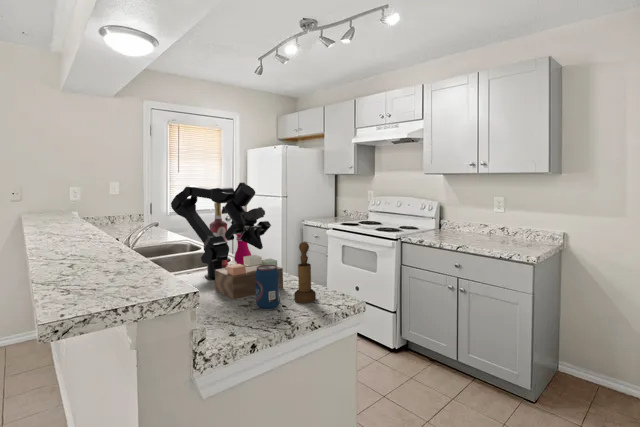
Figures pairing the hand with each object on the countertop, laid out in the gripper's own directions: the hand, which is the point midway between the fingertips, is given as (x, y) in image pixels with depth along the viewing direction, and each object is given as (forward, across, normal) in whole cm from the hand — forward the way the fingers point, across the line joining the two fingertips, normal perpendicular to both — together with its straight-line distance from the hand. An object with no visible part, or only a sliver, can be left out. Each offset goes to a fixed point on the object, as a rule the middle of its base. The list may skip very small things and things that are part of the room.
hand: (261, 248), depth 129 cm
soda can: (+21, -15, -1) cm, 26 cm away
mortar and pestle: (+25, -4, -6) cm, 26 cm away
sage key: (+7, 0, +2) cm, 7 cm away
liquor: (-14, +14, +34) cm, 40 cm away
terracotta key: (+4, -11, +6) cm, 13 cm away
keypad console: (+8, -4, +11) cm, 14 cm away
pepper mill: (-8, +18, +27) cm, 33 cm away
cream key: (+4, -5, +2) cm, 7 cm away
